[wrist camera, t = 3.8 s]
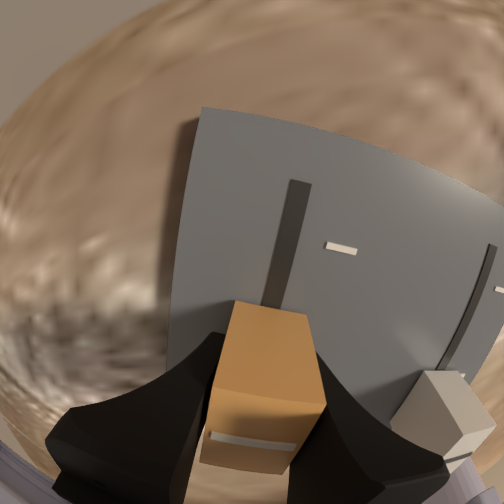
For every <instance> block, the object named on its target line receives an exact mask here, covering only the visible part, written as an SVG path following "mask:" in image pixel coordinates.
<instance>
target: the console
mask: <svg viewBox="0 0 504 504" xmlns="http://www.w3.org/2000/svg"><path fill="white" fill-rule="evenodd" d="M235 301H240V302H245V303H250V304H254V305H259V306H264V307H269V308H274V309H279V310H284V311H289V312H295V313H300V314H305V315H307V318H308V322H309V327H310V331H311V335H312V339H313V344H314V348H315V351H316V352H317V353H318V354H319V356H320V357H321V358H322V359H323V361H324V362H325V363H326V365H327V366H328V367H329V369H330V370H331V371H332V373H333V374H334V375H335V377H336V378H337V379H338V380H339V382H340V383H341V384H342V385H343V386H344V388H345V389H346V390H347V391H348V392H349V393H350V394H351V395H352V396H353V398H354V399H355V400H356V401H357V402H358V403H359V404H360V405H361V406H362V407H363V408H364V409H366V410H367V411H368V412H369V413H370V414H371V415H372V416H373V417H375V418H376V419H377V420H378V421H380V422H381V423H382V424H384V425H385V426H386V427H388V428H389V429H392V427H391V425H390V421H391V419H392V418H393V417H394V415H395V414H396V413H397V411H398V410H399V408H400V407H401V405H402V404H403V403H404V401H405V400H406V398H407V397H408V395H409V394H410V392H411V390H412V389H413V387H414V386H415V384H416V383H417V381H418V379H419V378H420V376H421V374H422V373H423V371H458V372H459V373H460V374H461V376H462V377H463V378H464V380H465V381H466V382H467V384H468V385H470V384H471V382H472V381H473V379H474V377H475V376H476V374H477V373H478V371H479V369H480V368H481V366H482V364H483V363H484V361H485V359H486V357H487V355H488V354H489V352H490V350H491V348H492V346H493V344H494V342H495V340H496V338H497V336H498V334H499V332H500V330H501V328H502V326H503V324H504V206H502V205H501V204H499V203H497V202H496V201H494V200H492V199H491V198H489V197H487V196H485V195H484V194H482V193H480V192H478V191H476V190H474V189H473V188H471V187H469V186H467V185H465V184H463V183H461V182H459V181H457V180H455V179H453V178H451V177H449V176H447V175H445V174H443V173H440V172H438V171H436V170H434V169H432V168H429V167H427V166H425V165H422V164H420V163H418V162H415V161H413V160H411V159H408V158H406V157H403V156H401V155H398V154H395V153H393V152H390V151H387V150H385V149H382V148H379V147H376V146H373V145H370V144H368V143H365V142H362V141H358V140H355V139H352V138H349V137H346V136H342V135H339V134H336V133H332V132H329V131H325V130H321V129H318V128H314V127H310V126H306V125H302V124H298V123H293V122H289V121H285V120H280V119H275V118H270V117H265V116H260V115H254V114H249V113H243V112H237V111H230V110H223V109H216V108H207V107H202V110H201V114H200V118H199V123H198V127H197V132H196V136H195V141H194V146H193V150H192V155H191V161H190V166H189V171H188V176H187V182H186V188H185V193H184V199H183V206H182V212H181V218H180V225H179V232H178V239H177V247H176V255H175V263H174V272H173V281H172V291H171V302H170V314H169V327H168V342H167V362H166V372H168V371H169V370H170V369H172V368H173V367H174V366H176V365H177V364H178V363H180V362H181V361H182V360H183V359H185V358H186V357H187V356H188V355H189V354H190V353H191V352H192V351H194V350H195V349H196V348H197V347H198V346H199V345H200V344H201V343H202V342H203V341H204V339H205V338H206V337H207V336H208V334H209V333H211V332H218V333H222V334H227V330H228V327H229V323H230V319H231V315H232V312H233V308H234V304H235Z"/></svg>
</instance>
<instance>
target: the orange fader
mask: <svg viewBox="0 0 504 504" xmlns="http://www.w3.org/2000/svg"><path fill="white" fill-rule="evenodd" d="M326 405H327V403H326V399H325V394H324V389H323V384H322V380H321V375H320V370H319V366H318V361H317V357H316V352H315V348H314V344H313V339H312V335H311V331H310V327H309V322H308V318H307V315H305V314H300V313H295V312H289V311H284V310H279V309H274V308H269V307H264V306H259V305H254V304H250V303H245V302H240V301H235V304H234V308H233V312H232V315H231V319H230V323H229V327H228V330H227V334H226V338H225V341H224V345H223V349H222V352H221V356H220V360H219V364H218V367H217V371H216V375H215V378H214V382H213V386H212V391H211V397H210V402H209V408H208V414H207V419H206V425H205V431H204V437H203V443H202V449H201V454H200V460H199V462H200V463H205V464H209V465H214V466H219V467H224V468H230V469H236V470H243V471H250V472H258V473H267V474H278V475H282V474H283V473H284V471H285V470H286V469H287V467H288V466H289V464H290V463H291V461H292V460H293V458H294V457H295V455H296V454H297V452H298V451H299V449H300V448H301V446H302V445H303V443H304V442H305V440H306V438H307V437H308V435H309V434H310V432H311V430H312V429H313V427H314V425H315V424H316V422H317V420H318V419H319V417H320V415H321V413H322V412H323V410H324V408H325V406H326Z"/></svg>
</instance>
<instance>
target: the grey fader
mask: <svg viewBox="0 0 504 504" xmlns="http://www.w3.org/2000/svg"><path fill="white" fill-rule="evenodd" d="M390 425H391V427H392V430H393V432H395V433H396V434H398V435H400V436H401V437H403V438H405V439H406V440H408V441H410V442H412V443H414V444H416V445H418V446H420V447H422V448H424V449H427V450H429V451H431V452H434V453H436V454H439V455H441V456H442V457H443V459H444V461H445V463H446V466H447V468H448V470H449V473H450V474H451V473H452V472H453V471H454V470H455V469H456V468H457V467H458V466H460V465H461V464H462V463H463V462H464V461H465V460H466V459H467V458H468V457H469V456H470V455H471V454H472V453H473V452H474V451H475V450H476V449H477V447H478V446H479V445H480V444H481V443H482V442H483V441H484V440H485V439H486V438H487V436H488V435H489V434H490V433H491V432H492V431H493V429H494V428H495V427H496V426H497V424H496V423H495V421H494V420H493V418H492V417H491V415H490V414H489V413H488V411H487V410H486V408H485V407H484V405H483V404H482V403H481V401H480V400H479V398H478V397H477V396H476V394H475V393H474V392H473V390H472V389H471V388H470V386H469V385H468V384H467V382H466V381H465V380H464V378H463V377H462V376H461V374H460V373H459V372H458V371H423V373H422V374H421V376H420V378H419V379H418V381H417V383H416V384H415V386H414V387H413V389H412V390H411V392H410V394H409V395H408V397H407V398H406V400H405V401H404V403H403V404H402V405H401V407H400V408H399V410H398V411H397V413H396V414H395V415H394V417H393V418H392V419H391V421H390Z"/></svg>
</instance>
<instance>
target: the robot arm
mask: <svg viewBox="0 0 504 504" xmlns="http://www.w3.org/2000/svg"><path fill="white" fill-rule="evenodd" d="M225 338H226V334H222V333H218V332H211V333H209V334H208V336H207V337H206V338H205V339H204V341H203V342H202V343H201V344H200V345H199V346H198V347H197V348H196V349H195V350H194V351H192V352H191V353H190V354H189V355H188V356H187V357H186V358H185V359H183V360H182V361H181V362H180V363H178V364H177V365H176V366H174V367H173V368H172V369H170V370H169V371H168V372H166V373H165V374H163V375H161V376H160V377H158V378H157V379H155V380H153V381H151V382H150V383H148V384H146V385H144V386H142V387H140V388H138V389H136V390H133V391H131V392H129V393H126V394H123V395H121V396H118V397H115V398H112V399H109V400H106V401H103V402H99V403H94V404H90V405H85V406H79V407H73V408H70V409H69V410H68V411H67V412H66V413H65V414H64V415H63V416H62V417H61V419H60V420H59V421H58V422H57V424H56V425H55V426H54V428H53V429H52V430H51V432H50V433H49V435H48V436H47V437H46V439H45V445H46V447H47V449H48V451H49V453H50V455H51V456H52V458H53V459H54V461H55V462H56V464H57V465H58V466H59V468H60V469H61V473H60V474H59V476H58V478H57V479H56V481H55V480H54V479H52V478H50V477H49V476H47V475H46V474H44V473H43V472H41V471H40V470H38V469H37V468H35V467H34V466H33V465H31V464H30V463H28V462H27V461H26V460H24V459H23V458H22V457H20V456H19V455H18V454H17V453H15V452H14V451H12V449H10V448H9V447H8V446H7V445H6V444H4V443H3V442H2V441H1V440H0V504H183V502H184V498H185V494H186V489H187V485H188V481H189V477H190V473H191V469H192V465H193V461H194V457H195V453H196V449H197V445H198V442H199V439H200V436H201V433H202V430H203V428H204V425H205V422H206V419H207V414H208V408H209V402H210V397H211V391H212V386H213V382H214V378H215V375H216V371H217V367H218V364H219V360H220V356H221V352H222V349H223V345H224V341H225ZM315 352H316V351H315ZM316 357H317V361H318V366H319V370H320V375H321V380H322V384H323V389H324V394H325V399H326V403H327V405H326V406H325V408H324V410H323V412H322V413H321V415H320V417H319V419H318V420H317V422H316V424H315V425H314V427H313V429H312V430H311V432H310V434H309V435H308V437H307V438H306V440H305V442H304V443H303V445H302V446H301V448H300V449H299V451H298V452H297V454H296V455H295V457H294V458H293V460H292V461H291V463H290V470H289V485H288V497H287V504H504V502H501V500H500V497H499V495H498V493H497V490H496V488H495V486H493V487H491V488H489V489H487V490H486V489H485V486H484V484H483V482H482V480H481V478H480V476H479V473H478V471H477V469H476V467H475V465H474V463H473V461H472V459H471V457H470V456H469V457H468V458H467V459H466V460H465V461H464V462H463V463H462V464H461V465H460V466H458V467H457V468H456V469H455V470H454V471H453V472H452V473H451V474H450V473H449V470H448V468H447V466H446V463H445V461H444V459H443V457H442V456H441V455H439V454H436V453H434V452H431V451H429V450H427V449H424V448H422V447H420V446H418V445H416V444H414V443H412V442H410V441H408V440H406V439H405V438H403V437H401V436H400V435H398V434H396V433H395V432H393V431H392V430H391V429H389V428H388V427H386V426H385V425H384V424H382V423H381V422H380V421H378V420H377V419H376V418H375V417H373V416H372V415H371V414H370V413H369V412H368V411H367V410H366V409H364V408H363V407H362V406H361V405H360V404H359V403H358V402H357V401H356V400H355V399H354V398H353V396H352V395H351V394H350V393H349V392H348V391H347V390H346V389H345V388H344V386H343V385H342V384H341V383H340V382H339V380H338V379H337V378H336V377H335V375H334V374H333V373H332V371H331V370H330V369H329V367H328V366H327V365H326V363H325V362H324V361H323V359H322V358H321V357H320V356H319V354H318V353H317V352H316Z"/></svg>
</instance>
